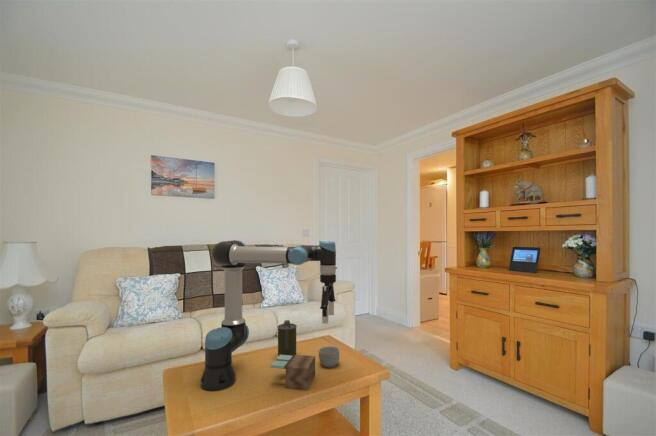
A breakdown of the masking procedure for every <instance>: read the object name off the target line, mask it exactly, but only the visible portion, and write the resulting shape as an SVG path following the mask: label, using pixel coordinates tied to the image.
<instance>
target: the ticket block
mask: <svg viewBox="0 0 656 436" xmlns="http://www.w3.org/2000/svg"><path fill="white" fill-rule="evenodd" d="M315 377H316V356H315V355H306V354H304V355H303V354H296V355H295V356H294V357H293V358H292V359H291V361H290V362H289V363H288V365H287V366H286V369H285V388H286V389H292V390H303V391H308V389H309V388H310V386H311V384H312V382H313V381H314V379H315Z"/></svg>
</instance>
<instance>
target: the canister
mask: <svg viewBox="0 0 656 436" xmlns="http://www.w3.org/2000/svg"><path fill="white" fill-rule="evenodd" d="M279 355H290V356H295V355H297V325H296V324H295V323H291V322H290V320H289V319H285V320H284V321H283V323H281V324H279V325H277V357H278V356H279Z"/></svg>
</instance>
